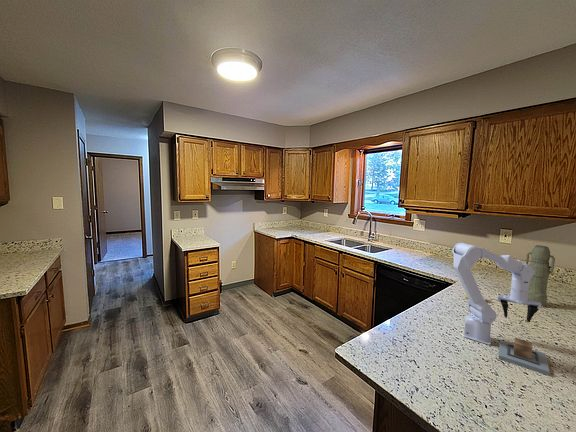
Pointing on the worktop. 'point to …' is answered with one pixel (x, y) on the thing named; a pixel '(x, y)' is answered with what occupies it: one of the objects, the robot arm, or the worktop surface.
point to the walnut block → (523, 348)
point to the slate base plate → (535, 364)
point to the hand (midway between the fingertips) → (516, 319)
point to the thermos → (539, 273)
